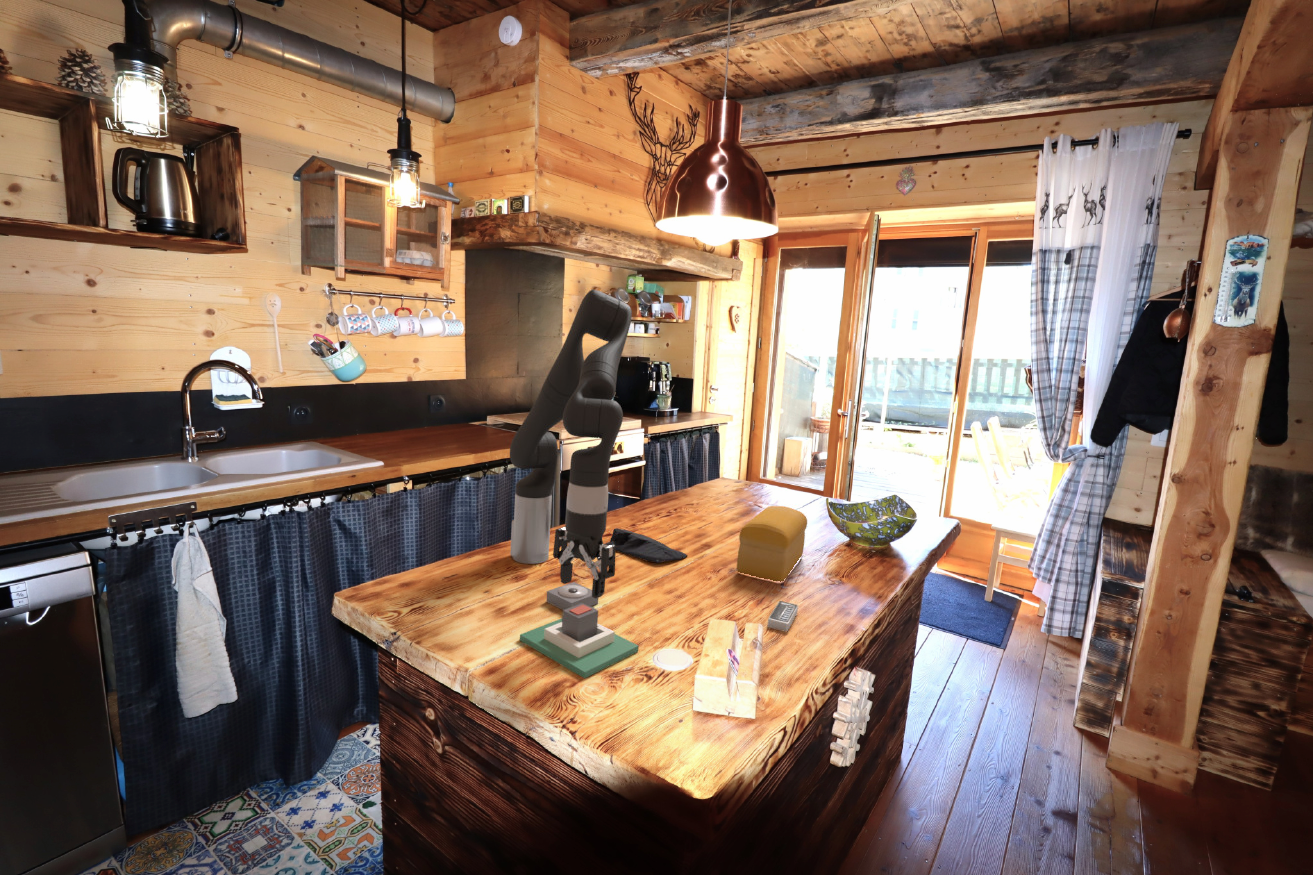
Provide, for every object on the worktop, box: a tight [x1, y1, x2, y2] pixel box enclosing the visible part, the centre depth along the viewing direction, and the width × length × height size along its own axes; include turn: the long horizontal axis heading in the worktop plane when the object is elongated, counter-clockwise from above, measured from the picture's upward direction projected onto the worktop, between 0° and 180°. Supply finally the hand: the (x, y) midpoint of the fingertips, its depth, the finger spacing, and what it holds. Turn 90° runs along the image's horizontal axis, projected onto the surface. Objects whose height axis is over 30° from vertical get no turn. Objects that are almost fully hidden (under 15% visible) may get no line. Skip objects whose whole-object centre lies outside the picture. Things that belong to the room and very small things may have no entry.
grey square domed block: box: [545, 581, 599, 611], centre depth 137 cm, size 8×8×3 cm
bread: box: [736, 505, 808, 582], centre depth 170 cm, size 24×13×15 cm, turn 155°
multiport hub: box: [767, 600, 799, 632], centre depth 138 cm, size 4×11×2 cm, turn 156°
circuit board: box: [519, 616, 640, 679], centre depth 119 cm, size 18×14×3 cm
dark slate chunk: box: [604, 527, 688, 564], centre depth 174 cm, size 15×22×5 cm
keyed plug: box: [561, 603, 599, 642], centre depth 119 cm, size 4×6×6 cm
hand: (581, 589), depth 117 cm, fingers open, 8 cm apart
